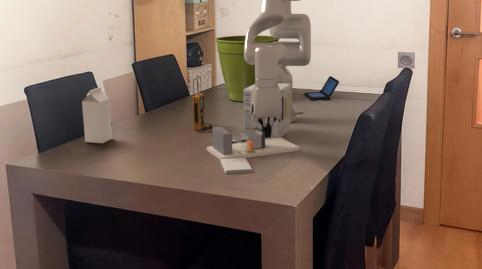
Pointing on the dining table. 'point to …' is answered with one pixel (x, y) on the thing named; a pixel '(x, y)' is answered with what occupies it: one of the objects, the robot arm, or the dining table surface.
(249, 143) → the small orange block
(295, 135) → the dining table surface
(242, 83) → the plant pot
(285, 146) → the base
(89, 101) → the milk carton
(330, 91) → the handheld game console
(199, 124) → the multimeter
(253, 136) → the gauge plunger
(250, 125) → the supplement box
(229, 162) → the external hard drive
